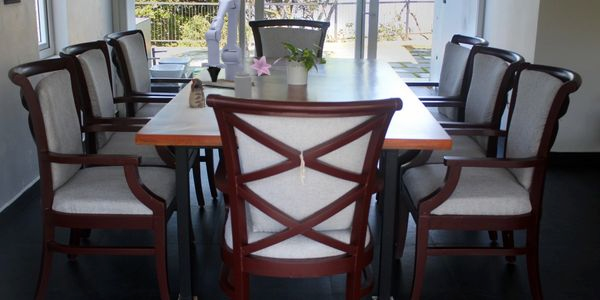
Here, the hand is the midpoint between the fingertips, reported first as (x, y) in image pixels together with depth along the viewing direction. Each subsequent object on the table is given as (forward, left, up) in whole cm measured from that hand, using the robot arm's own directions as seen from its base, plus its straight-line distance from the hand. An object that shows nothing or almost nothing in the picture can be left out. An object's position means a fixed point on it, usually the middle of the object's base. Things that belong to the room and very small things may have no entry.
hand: (214, 82), depth 345 cm
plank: (-2, +4, -2) cm, 5 cm away
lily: (-45, -6, -3) cm, 45 cm away
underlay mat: (-5, +4, -2) cm, 7 cm away
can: (+20, +35, -3) cm, 40 cm away
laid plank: (-10, +4, -2) cm, 11 cm away
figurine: (+42, +28, -3) cm, 51 cm away
